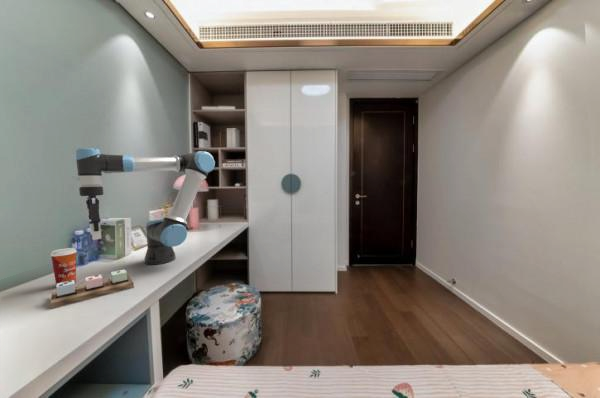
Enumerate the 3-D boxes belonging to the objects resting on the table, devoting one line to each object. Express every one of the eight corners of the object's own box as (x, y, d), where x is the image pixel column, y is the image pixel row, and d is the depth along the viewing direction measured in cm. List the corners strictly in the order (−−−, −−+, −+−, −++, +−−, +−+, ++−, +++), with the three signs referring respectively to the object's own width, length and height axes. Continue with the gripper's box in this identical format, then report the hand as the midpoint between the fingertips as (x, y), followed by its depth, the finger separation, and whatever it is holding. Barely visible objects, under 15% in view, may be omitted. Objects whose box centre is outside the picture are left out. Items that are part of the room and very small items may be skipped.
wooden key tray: (128, 279, 109) (128, 275, 109) (133, 287, 101) (133, 282, 101) (52, 297, 93) (51, 292, 93) (51, 308, 84) (50, 303, 84)
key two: (101, 281, 100) (100, 273, 100) (102, 285, 96) (102, 276, 96) (85, 285, 97) (85, 276, 96) (86, 289, 93) (86, 280, 93)
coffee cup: (62, 289, 100) (60, 253, 99) (47, 287, 101) (44, 252, 100) (84, 281, 108) (82, 247, 107) (69, 279, 110) (67, 247, 109)
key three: (74, 287, 94) (74, 279, 94) (75, 291, 91) (74, 282, 91) (57, 291, 91) (56, 282, 91) (57, 296, 88) (56, 286, 87)
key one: (125, 276, 105) (124, 268, 105) (127, 279, 102) (126, 271, 102) (111, 279, 102) (110, 271, 102) (112, 283, 99) (112, 274, 98)
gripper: (78, 186, 108) (82, 233, 109) (79, 186, 89) (85, 243, 91) (100, 185, 113) (104, 230, 114) (105, 186, 95) (110, 239, 96)
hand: (95, 236), depth 103 cm, fingers open, 13 cm apart
